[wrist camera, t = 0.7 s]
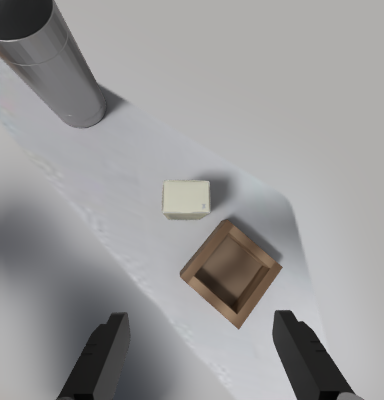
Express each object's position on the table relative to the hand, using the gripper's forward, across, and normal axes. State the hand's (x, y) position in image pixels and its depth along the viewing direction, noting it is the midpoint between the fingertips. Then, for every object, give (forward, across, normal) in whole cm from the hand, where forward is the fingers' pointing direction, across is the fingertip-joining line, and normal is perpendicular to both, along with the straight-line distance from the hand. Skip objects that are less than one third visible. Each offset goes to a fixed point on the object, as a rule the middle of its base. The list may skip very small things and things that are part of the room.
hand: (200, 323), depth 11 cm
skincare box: (+26, +2, +2) cm, 27 cm away
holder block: (+22, -6, +12) cm, 26 cm away
